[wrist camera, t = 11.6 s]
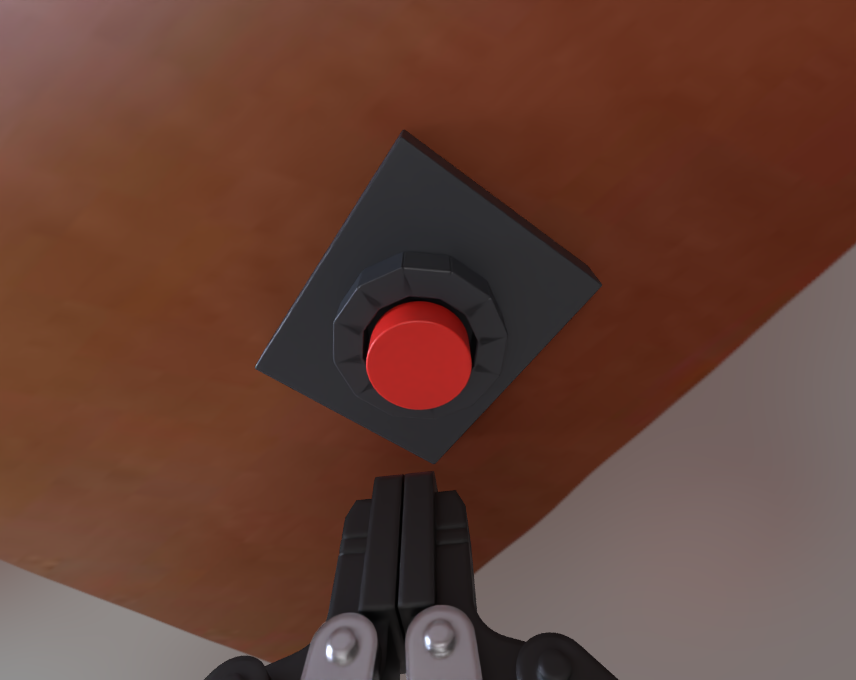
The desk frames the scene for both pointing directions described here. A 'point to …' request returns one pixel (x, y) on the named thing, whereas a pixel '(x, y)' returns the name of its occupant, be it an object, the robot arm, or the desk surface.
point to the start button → (419, 356)
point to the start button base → (426, 296)
